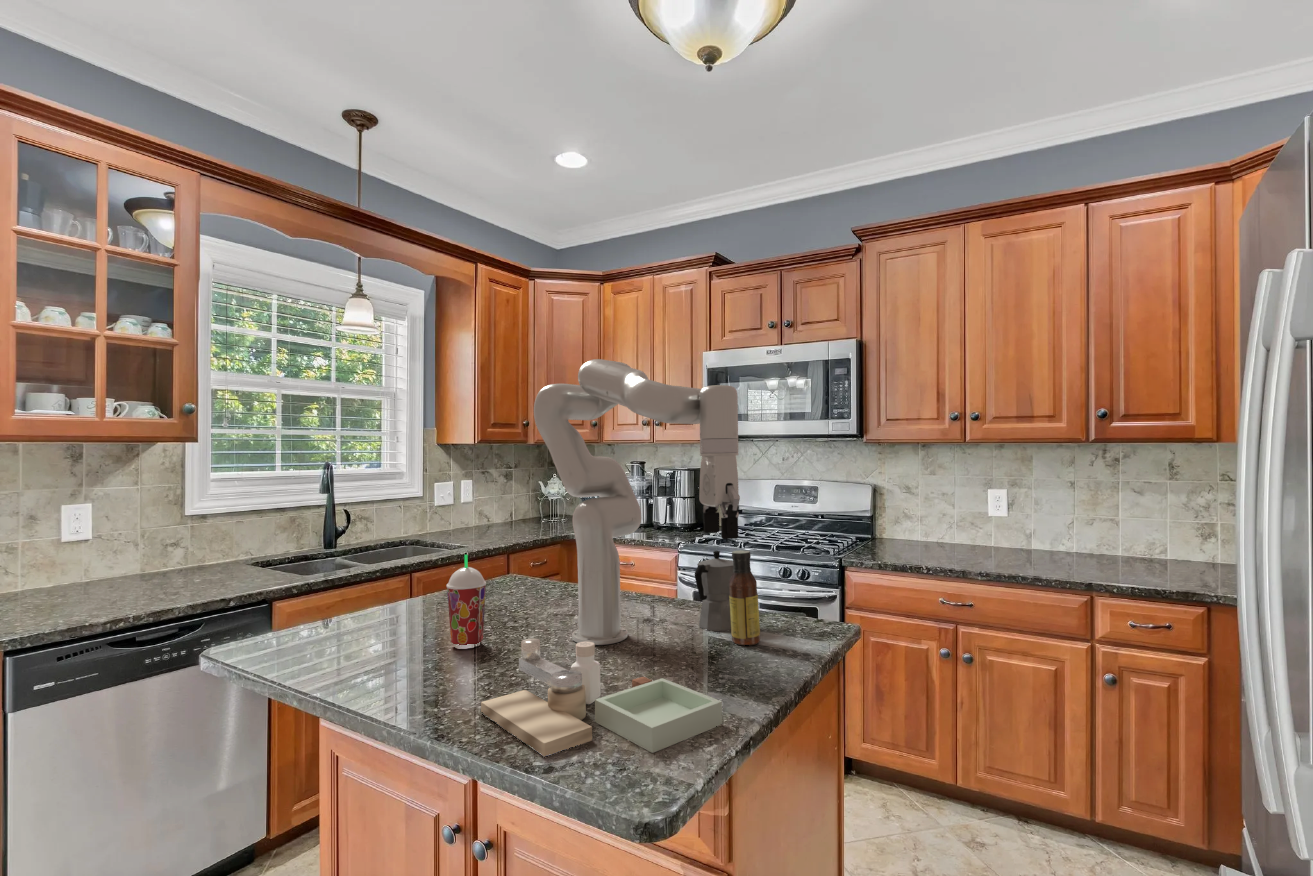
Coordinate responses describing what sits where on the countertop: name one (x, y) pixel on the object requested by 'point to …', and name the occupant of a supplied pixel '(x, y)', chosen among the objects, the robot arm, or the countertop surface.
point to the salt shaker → (588, 670)
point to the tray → (658, 714)
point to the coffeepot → (714, 592)
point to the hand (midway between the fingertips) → (720, 535)
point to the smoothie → (466, 605)
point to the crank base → (545, 718)
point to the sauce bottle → (743, 601)
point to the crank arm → (547, 669)
